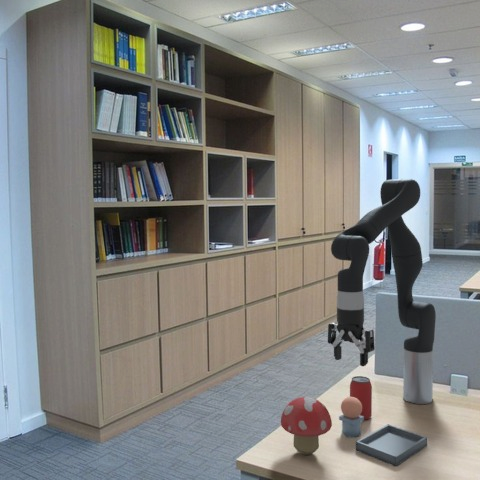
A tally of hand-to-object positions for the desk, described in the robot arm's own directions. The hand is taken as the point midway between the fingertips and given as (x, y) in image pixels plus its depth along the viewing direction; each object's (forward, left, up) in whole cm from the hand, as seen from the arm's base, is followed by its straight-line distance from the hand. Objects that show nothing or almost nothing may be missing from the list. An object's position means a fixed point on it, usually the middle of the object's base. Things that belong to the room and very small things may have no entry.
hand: (350, 362), depth 148 cm
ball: (-1, 0, -16) cm, 16 cm away
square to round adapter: (-1, 0, -21) cm, 21 cm away
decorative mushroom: (+18, -1, -21) cm, 28 cm away
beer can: (-13, -5, -21) cm, 25 cm away
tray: (-1, +13, -21) cm, 25 cm away
